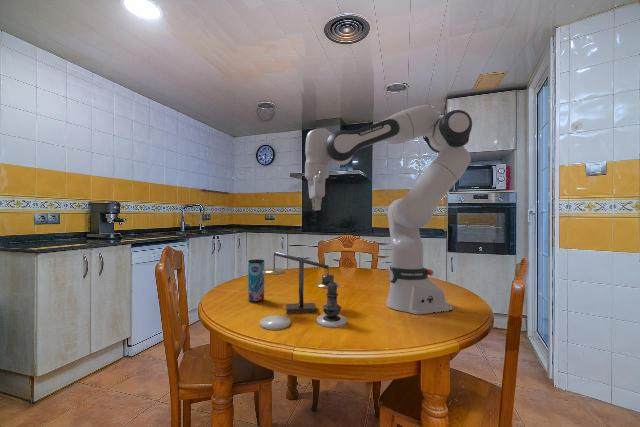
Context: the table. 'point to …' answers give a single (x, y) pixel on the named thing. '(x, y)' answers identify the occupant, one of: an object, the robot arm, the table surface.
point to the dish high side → (275, 322)
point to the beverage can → (255, 280)
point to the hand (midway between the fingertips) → (316, 210)
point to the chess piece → (331, 304)
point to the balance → (301, 283)
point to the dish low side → (331, 324)
